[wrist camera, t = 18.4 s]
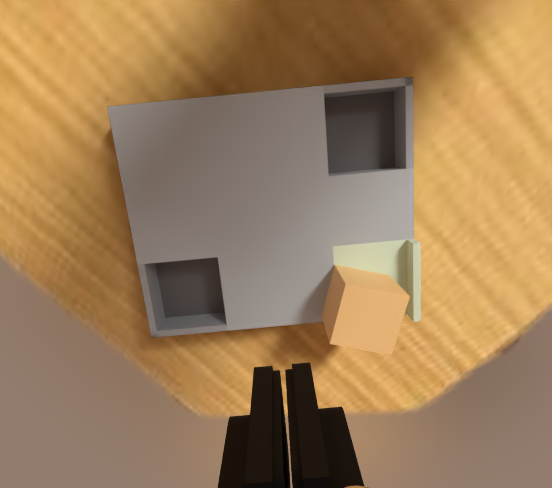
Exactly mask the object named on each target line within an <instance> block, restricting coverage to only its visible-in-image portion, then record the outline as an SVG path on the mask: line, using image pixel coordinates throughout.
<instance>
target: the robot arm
mask: <svg viewBox="0 0 552 488" xmlns="http://www.w3.org/2000/svg"><path fill="white" fill-rule="evenodd" d="M285 372H286V389H287V405H288V422H289V439H290V455H291V471H292V484H293V488H368V487H364V484H363V480H362V477H361V473H360V469H359V466H358V462H357V458H356V454H355V451H354V447H353V443H352V440H351V436H350V433H349V429H348V425H347V422H346V418H345V414H344V411H343V408H342V407H334V408H323V409H318V405H317V399H316V394H315V388H314V382H313V377H312V371H311V365H310V363H299V364H292V369H288V370H285ZM218 488H290V473H289V455H288V443H287V434H286V424H285V415H284V405H283V396H282V386H281V377H280V370H277V371H273V367H272V366H266V367H255V368H254V374H253V386H252V398H251V410H250V415H244V416H233V417H230V418H229V422H228V427H227V433H226V439H225V446H224V452H223V459H222V465H221V470H220V476H219V483H218Z"/></svg>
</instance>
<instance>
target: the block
mask: <svg viewBox="0 0 552 488" xmlns="http://www.w3.org/2000/svg"><path fill="white" fill-rule="evenodd" d="M409 298H410V296H409V295H408V294H407V293H406V292H405V291H404V290H403V289H402V288H401V287H400V286H399V285H398V284H397V283H396V282H395V280H394V279H393V278H392V277H391V276H390V275H386V274H381V273H376V272H371V271H365V270H360V269H355V268H350V267H345V266H340V265H335V264H334V268H333V272H332V276H331V280H330V284H329V288H328V292H327V296H326V300H325V304H324V308H323V312H322V315H321V317H322V320H323V323H324V327H325V330H326V333H327V336H328V340H329V343H330V344H333V345H338V346H344V347H349V348H355V349H360V350H366V351H371V352H377V353H382V354H388V355H392V353H393V350H394V346H395V343H396V340H397V337H398V333H399V330H400V327H401V324H402V321H403V317H404V314H405V311H406V308H407V305H408V301H409Z"/></svg>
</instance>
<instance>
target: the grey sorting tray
mask: <svg viewBox="0 0 552 488" xmlns="http://www.w3.org/2000/svg"><path fill="white" fill-rule="evenodd" d="M107 109H108V114H109V119H110V124H111V130H112V135H113V140H114V145H115V150H116V156H117V161H118V166H119V171H120V177H121V182H122V187H123V192H124V197H125V203H126V208H127V213H128V218H129V224H130V229H131V234H132V239H133V244H134V250H135V255H136V260H137V265H138V271H139V276H140V281H141V286H142V291H143V297H144V302H145V307H146V312H147V317H148V323H149V328H150V333H151V338H154V337H165V336H176V335H187V334H198V333H208V332H219V331H230V330H241V329H252V328H263V327H274V326H285V325H295V324H306V323H317V322H323V320H322V317H321V315H322V312H323V308H324V304H325V300H326V296H327V292H328V288H329V284H330V280H331V276H332V272H333V268H334V264H335V265H340V266H345V267H350V268H355V269H360V270H365V271H371V272H376V273H381V274H386V275H390V276H391V277H392V278H393V279H394V280H395V282H396V283H397V284H398V285H399V286H400V287H401V288H402V289H403V290H404V291H405V292H406V293H407V294H408V295H409V296H410V298H409V301H408V305H407V308H406V311H405V314H408V316H409V317H410V318H411V319H412V320H413V321H420V291H421V243H420V242H418V241H417V240H415V239H414V175H413V77H405V78H395V79H385V80H375V81H364V82H354V83H344V84H334V85H323V86H313V87H303V88H292V89H282V90H272V91H262V92H251V93H241V94H231V95H221V96H210V97H200V98H190V99H180V100H169V101H159V102H149V103H139V104H128V105H118V106H108V107H107Z"/></svg>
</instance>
